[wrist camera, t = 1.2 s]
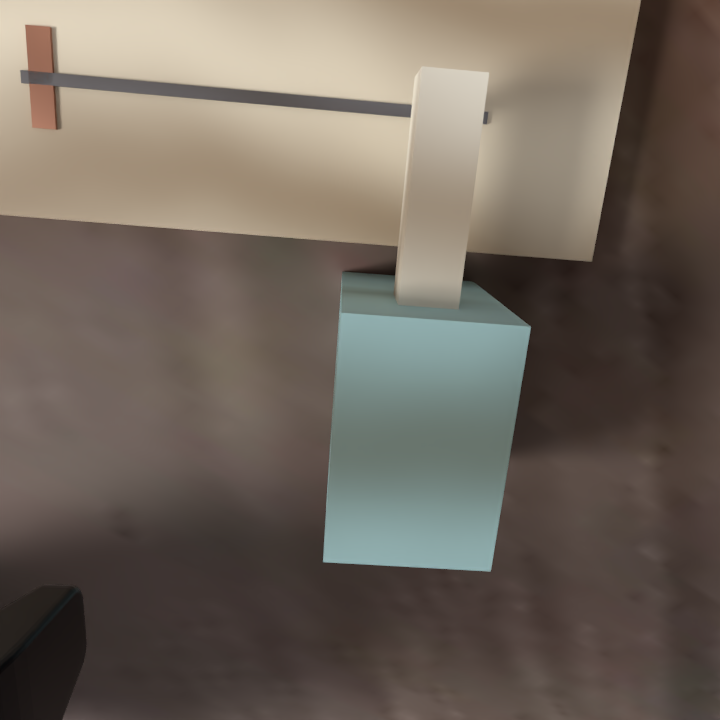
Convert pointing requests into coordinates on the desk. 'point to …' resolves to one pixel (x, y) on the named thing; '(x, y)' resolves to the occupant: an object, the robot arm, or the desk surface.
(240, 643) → the desk surface
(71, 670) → the robot arm
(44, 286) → the desk surface
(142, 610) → the desk surface
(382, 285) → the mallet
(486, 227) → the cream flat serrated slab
